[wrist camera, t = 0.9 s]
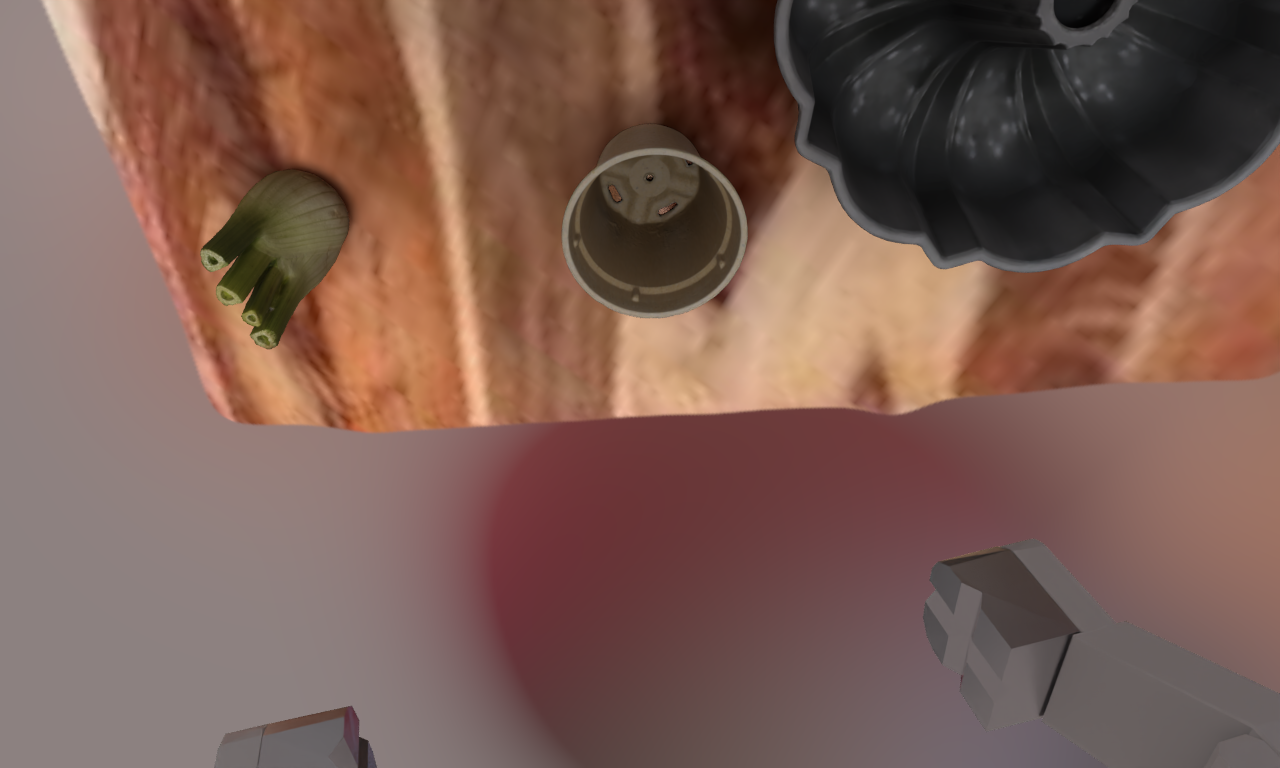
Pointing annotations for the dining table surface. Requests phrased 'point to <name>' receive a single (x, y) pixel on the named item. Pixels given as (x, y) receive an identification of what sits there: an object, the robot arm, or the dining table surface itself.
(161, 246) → the dining table surface
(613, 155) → the flower pot
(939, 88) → the bundt pan
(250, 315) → the fennel bulb
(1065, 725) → the robot arm
